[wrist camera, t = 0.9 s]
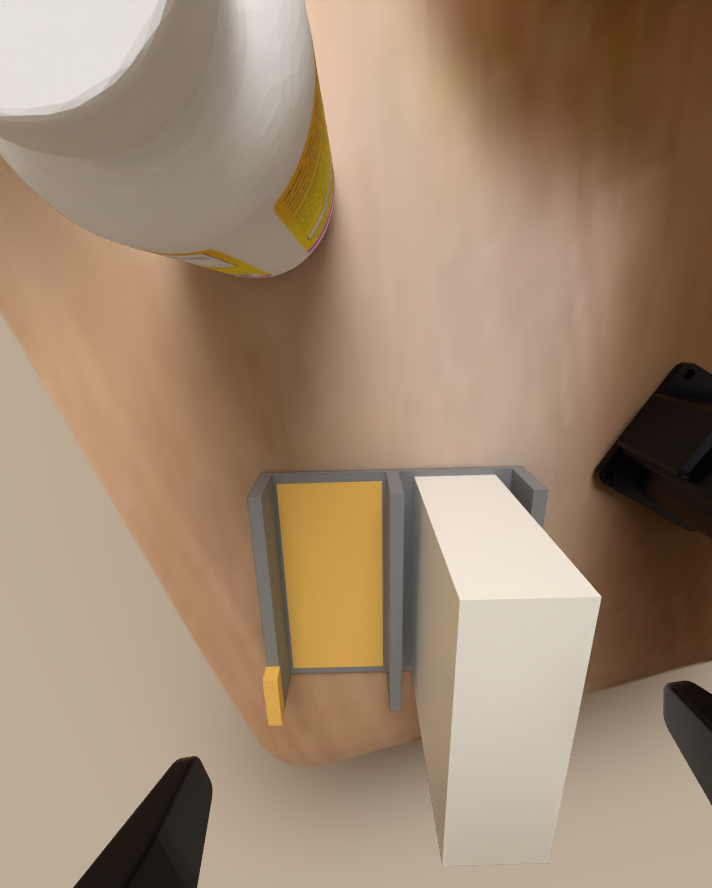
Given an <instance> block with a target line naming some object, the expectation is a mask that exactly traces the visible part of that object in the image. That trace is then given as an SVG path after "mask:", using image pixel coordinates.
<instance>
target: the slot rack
mask: <svg viewBox="0 0 712 888" xmlns="http://www.w3.org/2000/svg"><path fill="white" fill-rule="evenodd" d="M462 475H496V476H497V477H498V478H499V479H500V480H501V482H502V483H503V484H504V485H505V486H506V487H507V488H508V490H509V491H510V492H511V493H512V494H513V495H514V497H515V498H516V499H517V500H518V501H519V502H520V503H521V505H522V506H523V507H524V508H525V509H526V510H527V511H528V513H529V514H530V515H531V516H532V517H533V518H534V520H535V521H536V522H537V523H538V524H539V525H540V526H541V528H542V529H543V522H544V515H545V507H546V500H547V493H548V489H547V488H546V487H544V486H543V485H542V484H541V483H540V482H539V481H538V480H537V479H536V478H535V477H534V476H533V475H531V474H530V473H529V472H528V471H527V470H526V469H525V468H524V467H523V466H506V467H466V468H427V469H387V470H347V471H308V472H268V473H260V475H259V477H258V479H257V480H256V482H255V484H254V486H253V487H252V489H251V491H250V493H249V495H248V496H247V502H248V510H249V519H250V527H251V536H252V544H253V552H254V561H255V569H256V578H257V586H258V595H259V603H260V611H261V620H262V628H263V637H264V645H265V654H266V662H267V667H266V669H265V673H264V677H263V687H264V695H265V703H266V711H267V719H268V726H282V723H283V718H284V712H285V705H286V699H287V693H288V687H289V681H290V676H291V674H294V673H334V672H375V671H386V674H387V685H388V695H389V706H390V711H401V696H402V671H411V669H410V650H411V605H412V559H413V514H414V477H422V476H462Z"/></svg>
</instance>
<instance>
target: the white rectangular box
mask: <svg viewBox="0 0 712 888" xmlns="http://www.w3.org/2000/svg"><path fill="white" fill-rule="evenodd" d="M600 602H601V596H600V594H599V593H598V592H597V591H596V590H595V589H594V588H593V586H592V585H591V584H590V583H589V582H588V581H587V580H586V578H585V577H584V576H583V575H582V574H581V573H580V571H579V570H578V569H577V568H576V567H575V566H574V565H573V563H572V562H571V561H570V560H569V559H568V558H567V556H566V555H565V554H564V553H563V552H562V551H561V550H560V548H559V547H558V546H557V545H556V544H555V543H554V541H553V540H552V539H551V538H550V537H549V536H548V535H547V533H546V532H545V531H544V530H543V529H542V528H541V526H540V525H539V524H538V523H537V522H536V521H535V520H534V518H533V517H532V516H531V515H530V514H529V513H528V511H527V510H526V509H525V508H524V507H523V506H522V505H521V503H520V502H519V501H518V500H517V499H516V498H515V497H514V495H513V494H512V493H511V492H510V491H509V490H508V488H507V487H506V486H505V485H504V484H503V483H502V482H501V480H500V479H499V478H498V477H497V476H496V475H462V476H422V477H414V514H413V559H412V605H411V650H410V669H411V675H412V681H413V688H414V694H415V700H416V706H417V712H418V719H419V725H420V731H421V737H422V744H423V750H424V756H425V762H426V768H427V775H428V781H429V787H430V793H431V800H432V806H433V812H434V818H435V824H436V831H437V837H438V843H439V849H440V856H441V862H442V866H477V865H517V864H549V861H550V856H551V851H552V846H553V841H554V836H555V831H556V825H557V820H558V816H559V810H560V805H561V800H562V795H563V790H564V785H565V780H566V775H567V770H568V765H569V760H570V755H571V749H572V744H573V739H574V734H575V729H576V724H577V719H578V714H579V709H580V703H581V698H582V694H583V688H584V683H585V678H586V673H587V668H588V663H589V658H590V653H591V648H592V643H593V638H594V633H595V627H596V622H597V617H598V612H599V607H600Z"/></svg>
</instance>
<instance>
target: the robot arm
mask: <svg viewBox="0 0 712 888" xmlns="http://www.w3.org/2000/svg"><path fill="white" fill-rule="evenodd" d="M686 370H687V371H688V373H687V375H686V377H684V378H683V374H684V372H685V371H686ZM607 470H610V472H609V474H608V475H606V476H604V474H605V472H606V471H607ZM594 474H595V477H596V478H597V479H598V480H600V481H601V482H602V483H604V484H606V485H608V486H609V487H611V488H613V489H615V490H617V491H618V492H620V493H622V494H624V495H626V496H627V497H629V498H631V499H633V500H635V501H636V502H638V503H640V504H642V505H643V506H645V507H647V508H649V509H651V510H652V511H654V512H656V513H658V514H660V515H661V516H663V517H665V518H667V519H669V520H670V521H672V522H674V523H676V524H677V525H679V526H681V527H683V528H685V529H686V530H689V531H695V530H698V531H700V532H702V533H703V534H705V535H706V536H708V537H709V538H711V539H712V374H710V373H709V372H707V371H706V370H704V369H703V368H701V367H699V366H698V365H696V364H693V363H687V362H683V363H680V364H678V365H676V366H675V367H674V368H673V369H672V371H671V372H670V373H669V375H668V376H667V377H666V378H665V380H664V381H663V382H662V384H661V385H660V386H659V387H658V389H657V390H656V391H655V393H654V394H653V395H652V396H651V397H650V398H649V400H648V401H647V402H646V403H645V405H644V406H643V407H642V409H641V410H640V411H639V412H638V414H637V415H636V416H635V418H634V419H633V420H632V421H631V423H630V424H629V425H628V427H627V428H626V429H625V430H624V432H623V433H622V434H621V436H620V437H619V438H618V440H617V441H616V443H615V444H614V445H613V446H612V448H611V449H610V450H609V452H608V453H607V454H606V455H605V457H604V458H603V459H602V461H601V462H600V463H599V464H598V466H597V467H596V469H595V473H594ZM663 708H664V710H663V711H664V712H663V714H664V720H665V723H666V726H667V728H668V730H669V732H670V733H671V735H672V737H673V739H674V740H675V742H676V744H677V746H678V747H679V749H680V751H681V753H682V754H683V756H684V758H685V759H686V761H687V763H688V765H689V766H690V768H691V770H692V772H693V773H694V775H695V777H696V778H697V780H698V782H699V784H700V785H701V787H702V789H703V790H704V793H705V794H706V796H707V798H708V799H709V801H710V803H711V805H712V694H711V693H709V692H707V691H706V690H704V689H703V688H701V687H700V686H698V685H696V684H695V683H692V682H690V681H679V682H672V683H667V684H666V685H665V686H664V707H663ZM211 800H212V784H211V781H210V778H209V777H208V774H207V772H206V771H205V769H204V766H203V764H202V762H201V760H200V759H199V758H198V757H197V756H192V757H186V758H181V759H178V760H176V761H175V762H174V763H173V764H172V765H171V767H170V768H169V769H168V771H167V772H166V773H165V774H164V776H163V777H162V778H161V779H160V780H159V782H158V783H157V784H156V785H155V787H154V788H153V789H152V790H151V792H150V793H149V794H148V795H147V797H146V798H145V799H144V800H143V802H142V803H141V804H140V805H139V806H138V808H137V809H136V810H135V812H134V813H133V814H132V815H131V816H130V818H129V819H128V820H127V821H126V823H125V824H124V825H123V826H122V828H121V829H120V830H119V831H118V833H117V834H116V835H115V836H114V838H113V839H112V840H111V841H110V843H109V844H108V845H107V846H106V848H105V849H104V850H103V851H102V853H101V854H100V855H99V856H98V857H97V859H96V860H95V861H94V863H93V864H92V865H91V866H90V867H89V869H88V870H87V871H86V872H85V874H84V875H83V876H82V877H81V879H80V880H79V881H78V882H77V884H76V885H75V886H74V887H73V888H197V884H198V879H199V873H200V866H201V861H202V854H203V847H204V843H205V837H206V830H207V824H208V818H209V812H210V805H211Z"/></svg>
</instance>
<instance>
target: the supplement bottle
mask: <svg viewBox="0 0 712 888" xmlns="http://www.w3.org/2000/svg"><path fill="white" fill-rule="evenodd" d="M0 155H1V156H2V158H3V159H4V160H5V161H6V162H7V164H8V165H9V166H10V167H11V168H12V170H13V171H14V172H15V173H16V174H17V175H18V177H19V178H20V179H21V180H22V181H23V182H24V183H25V184H26V185H27V186H29V187H30V188H31V189H32V190H33V191H34V192H35V193H36V194H37V195H38V196H39V197H40V198H41V199H42V200H44V201H45V202H46V203H47V204H48V205H50V206H51V207H52V208H54V209H55V210H56V211H58V212H59V213H61V214H62V215H63V216H65V217H66V218H68V219H69V220H71V221H72V222H74V223H76V224H77V225H79V226H80V227H82V228H84V229H86V230H88V231H90V232H92V233H94V234H96V235H99V236H101V237H103V238H105V239H108V240H111V241H113V242H116V243H119V244H123V245H126V246H129V247H132V248H135V249H139V250H143V251H147V252H151V253H155V254H159V255H163V256H166V257H170V258H174V259H177V260H181V261H184V262H188V263H191V264H194V265H198V266H201V267H205V268H208V269H211V270H215V271H219V272H223V273H226V274H229V275H234V276H239V277H246V278H267V277H272V276H276V275H280V274H283V273H285V272H287V271H289V270H291V269H293V268H295V267H296V266H298V265H299V264H300V263H302V262H303V261H304V260H305V259H306V258H307V257H308V256H309V255H310V254H311V253H312V252H313V251H314V250H315V248H316V247H317V246H318V244H319V243H320V241H321V240H322V238H323V236H324V234H325V232H326V230H327V227H328V224H329V222H330V218H331V214H332V210H333V204H334V193H335V186H334V171H333V164H332V157H331V151H330V145H329V139H328V133H327V126H326V121H325V115H324V109H323V102H322V97H321V92H320V86H319V80H318V74H317V68H316V61H315V55H314V48H313V41H312V35H311V30H310V25H309V20H308V16H307V11H306V7H305V2H304V0H0Z"/></svg>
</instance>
